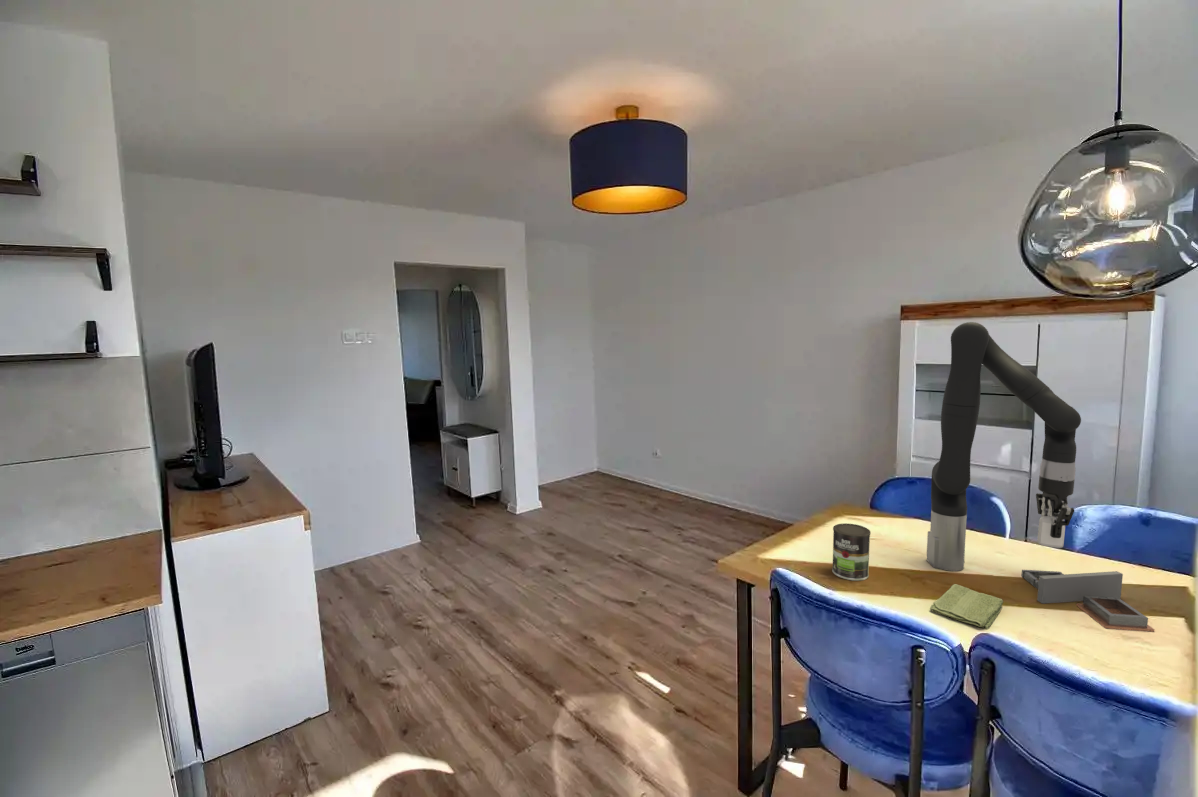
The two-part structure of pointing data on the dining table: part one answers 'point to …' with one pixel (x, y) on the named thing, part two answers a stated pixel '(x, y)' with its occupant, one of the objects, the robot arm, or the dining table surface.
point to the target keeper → (1114, 613)
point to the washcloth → (968, 606)
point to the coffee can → (851, 551)
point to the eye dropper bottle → (1045, 533)
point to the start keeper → (1037, 575)
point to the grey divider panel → (1079, 586)
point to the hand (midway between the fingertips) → (1051, 534)
